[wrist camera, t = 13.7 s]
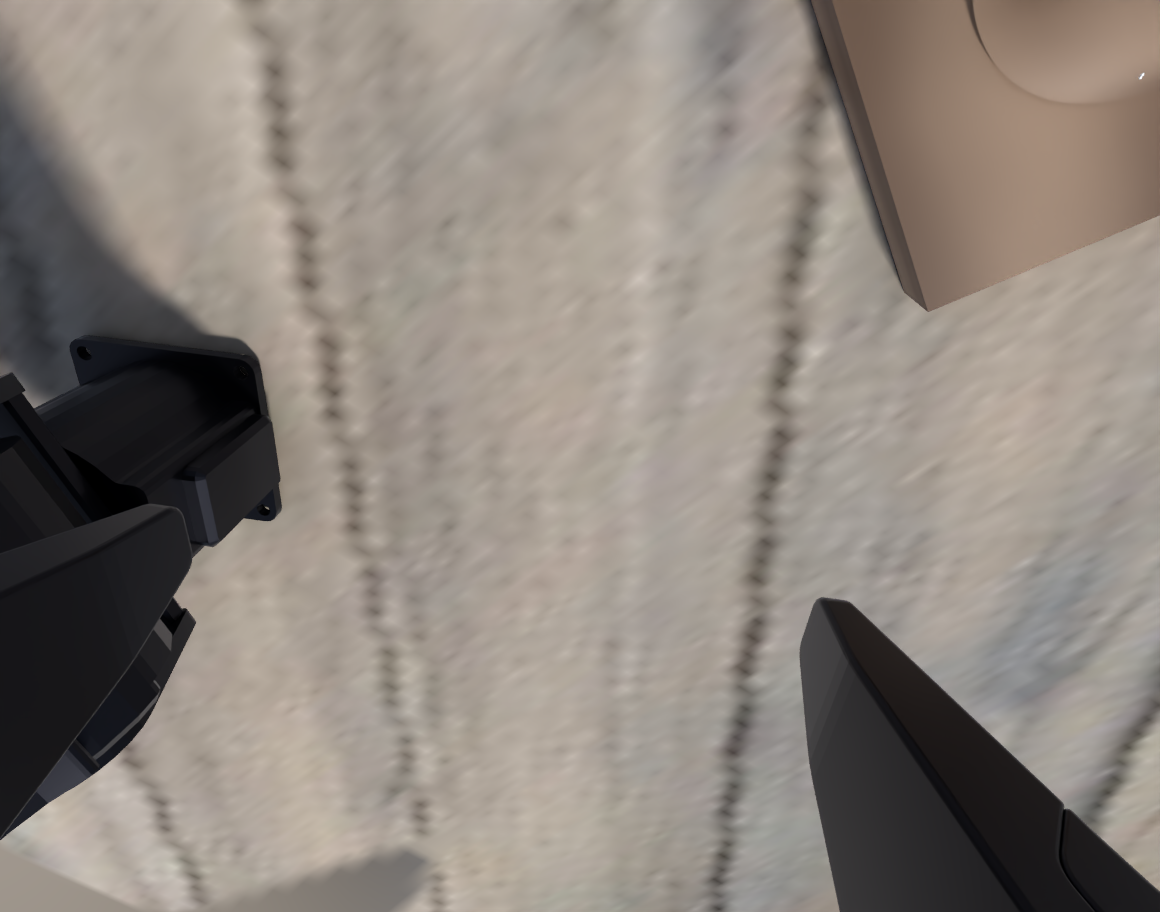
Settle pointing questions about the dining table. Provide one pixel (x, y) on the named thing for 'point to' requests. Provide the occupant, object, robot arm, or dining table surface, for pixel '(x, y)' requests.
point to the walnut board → (979, 149)
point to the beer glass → (1074, 47)
